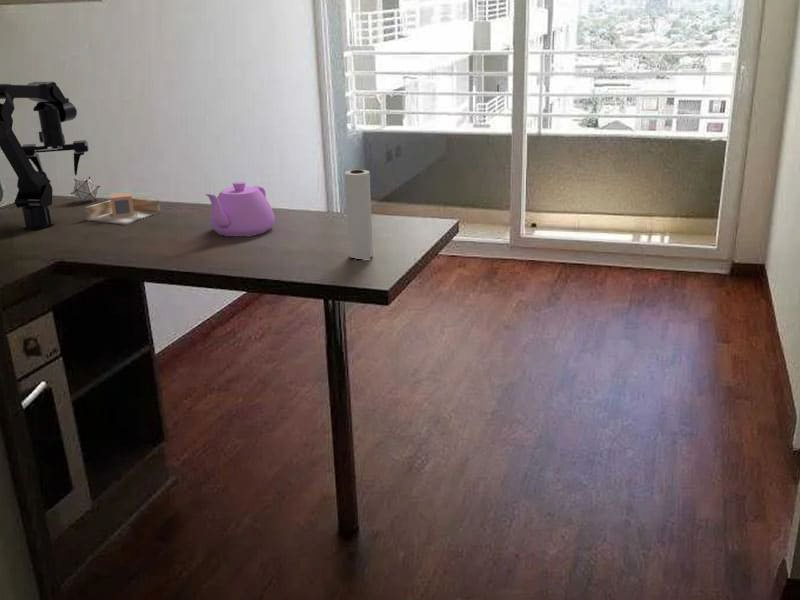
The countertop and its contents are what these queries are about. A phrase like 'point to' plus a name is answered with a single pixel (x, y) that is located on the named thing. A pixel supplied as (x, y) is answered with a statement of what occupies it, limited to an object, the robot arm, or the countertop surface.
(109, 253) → the countertop surface
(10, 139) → the robot arm
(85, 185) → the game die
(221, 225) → the teapot
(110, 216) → the tray
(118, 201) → the cube
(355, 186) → the paper towel roll
